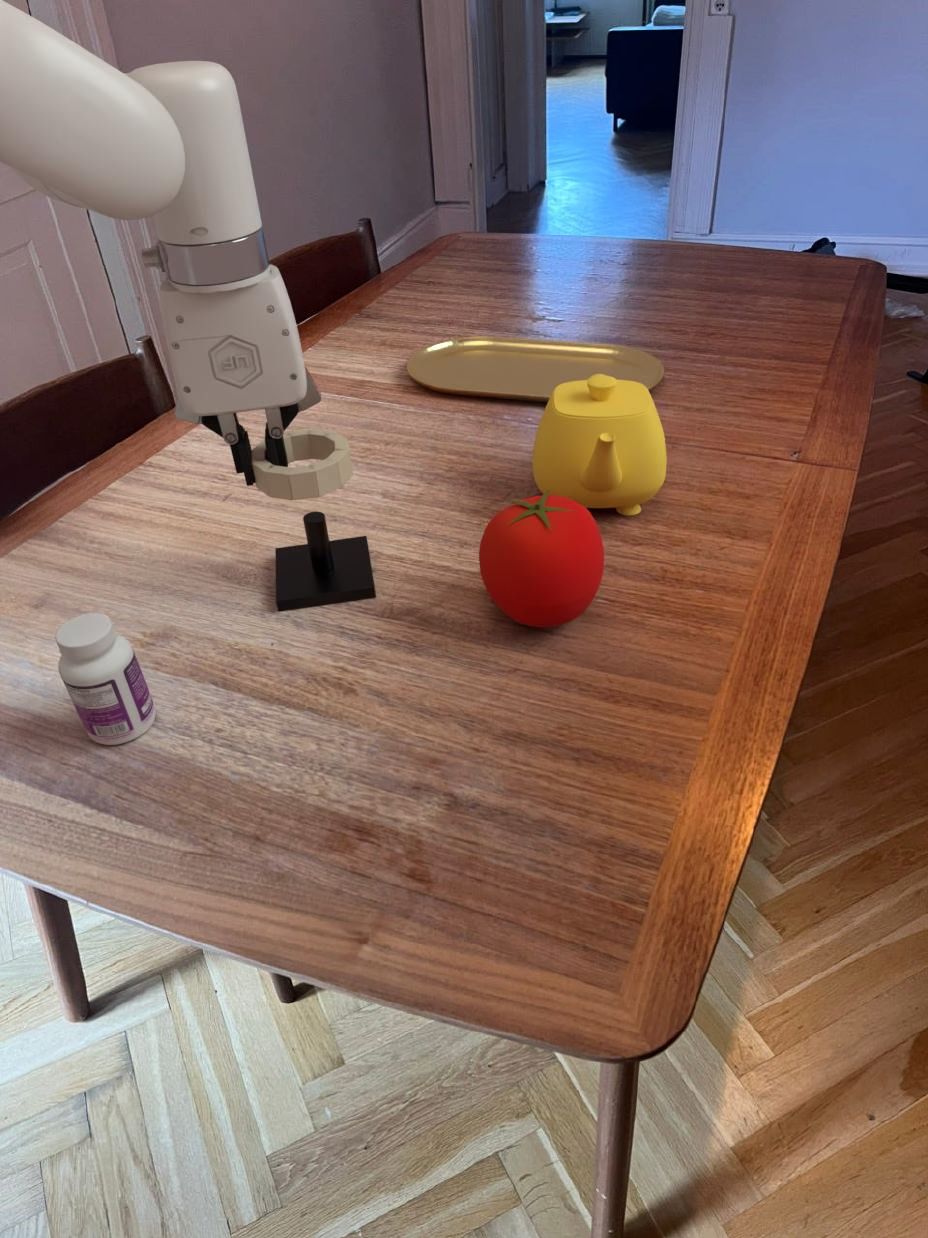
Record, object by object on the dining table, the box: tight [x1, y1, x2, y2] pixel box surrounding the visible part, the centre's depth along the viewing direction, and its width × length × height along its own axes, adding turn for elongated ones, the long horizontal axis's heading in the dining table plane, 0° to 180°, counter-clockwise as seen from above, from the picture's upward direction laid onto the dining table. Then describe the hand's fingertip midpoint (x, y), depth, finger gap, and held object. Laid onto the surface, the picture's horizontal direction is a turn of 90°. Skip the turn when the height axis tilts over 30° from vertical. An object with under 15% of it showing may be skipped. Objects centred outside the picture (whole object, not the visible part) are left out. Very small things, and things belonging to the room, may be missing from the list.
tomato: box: [478, 490, 605, 628], centre depth 75 cm, size 10×11×11 cm
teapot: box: [531, 374, 668, 516], centre depth 89 cm, size 14×20×13 cm
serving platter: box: [406, 335, 665, 403], centre depth 119 cm, size 19×35×2 cm, turn 71°
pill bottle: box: [54, 612, 157, 746], centre depth 67 cm, size 5×5×10 cm
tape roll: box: [251, 427, 354, 501], centre depth 77 cm, size 8×8×2 cm
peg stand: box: [274, 511, 377, 612], centre depth 82 cm, size 9×9×7 cm
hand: (264, 475), depth 77 cm, fingers closed on tape roll, 1 cm apart
